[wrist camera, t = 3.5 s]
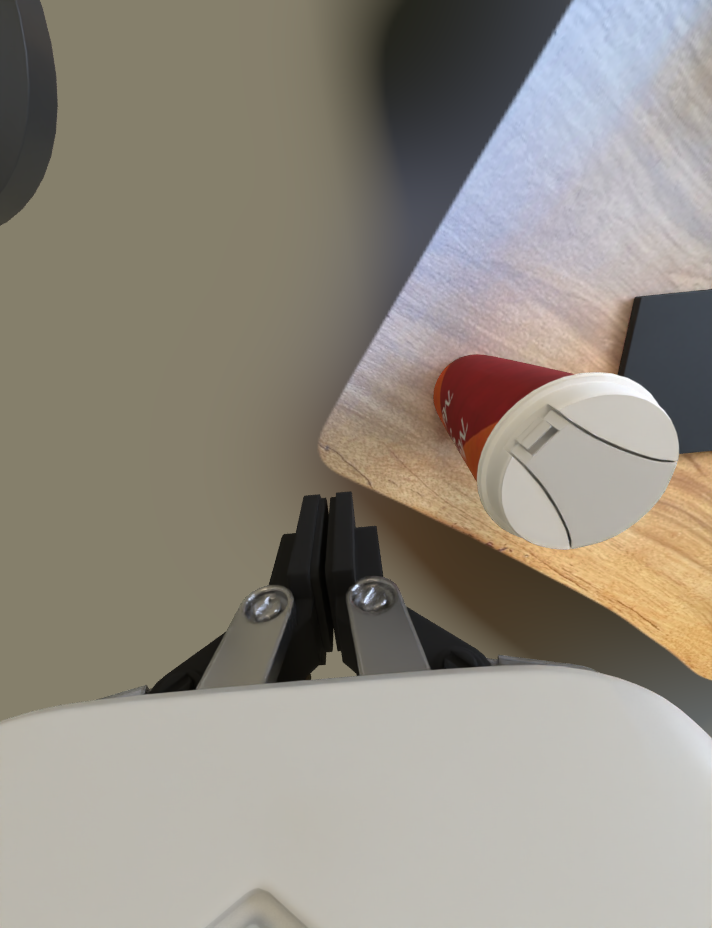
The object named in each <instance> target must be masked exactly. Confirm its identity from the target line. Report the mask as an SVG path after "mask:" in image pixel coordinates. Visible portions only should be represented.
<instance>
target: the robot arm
mask: <svg viewBox="0 0 712 928" xmlns="http://www.w3.org/2000/svg"><path fill="white" fill-rule="evenodd" d="M378 542H379V541H378V535H377V527H376V526H369V527H358V528H356V527H355V517H354V509H353V499H352V492H340V493H336V497H331V498H330V510H329V512H328V506H327V500H326V498H321V497H320V495H308V496H304V498H303V502H302V507H301V512H300V516H299V521H298V525H297V530H296V533H292V534H284V535H283V536H282V538H281V542H280V546H279V549H278V553H277V557H276V560H275V564H274V568H273V571H272V575H271V579H270V582H269V585H267V586H264V587H261V588H259V589H257V590H255V591H253V592H252V593H250V594H249V595H248V596H247V597H246V598H245V599H244V601H243V602H242V603H241V605H240V607H239V608H238V611H237V612H236V614H235V616H234V618H233V620H232V622H231V624H230V626H229V627H228V629H227V631H226V632H225V633H224V634H222V635H221V636H219V637H218V638H217V639H215V640H214V641H213V642H211V643H210V644H208V645H207V646H205V647H204V648H203V649H201V650H200V651H199V652H197V653H196V654H195V655H193V656H192V657H190V658H189V659H188V660H186V661H185V662H183V663H182V664H181V665H179V666H178V667H176V668H175V669H174V670H172V671H171V672H169V673H168V674H167V675H165V676H164V677H163V678H162V679H161V680H160V681H158V682H157V683H156V684H155V686H154V687H153V688H152V689H149V688H148V687H147V685H145V686H141V687H138V688H134V689H131V690H128V691H124V692H121V693H118V694H115V695H111V696H108V697H104V698H101V699H97V700H92V701H85V702H79V703H72V704H65V705H59V706H54V707H50V708H45V709H41V710H36V711H32V712H29V713H25V714H22V715H19V716H15V717H12V718H9V719H6V720H3V721H0V928H712V738H711V737H710V736H709V735H708V734H707V733H706V732H705V731H704V730H703V729H702V728H701V727H699V726H698V725H697V724H696V723H695V722H694V721H693V720H692V719H691V718H690V717H688V716H687V715H686V714H685V713H683V712H682V711H681V710H680V709H679V708H677V707H676V706H675V705H673V704H672V703H670V702H669V701H668V700H666V699H665V698H663V697H661V696H659V695H658V694H656V693H654V692H652V691H650V690H648V689H646V688H643V687H641V686H639V685H636V684H634V683H631V682H628V681H625V680H623V679H620V678H617V677H613V676H609V675H605V674H601V673H599V672H597V671H595V670H593V669H591V668H588V667H584V666H580V665H573V664H566V663H557V662H550V661H542V660H533V659H526V658H519V657H511V656H503V655H498V660H497V659H489V658H486V657H485V656H484V655H483V654H482V653H481V652H479V651H478V650H477V649H476V648H474V647H472V646H471V645H469V644H467V643H466V642H464V641H462V640H461V639H459V638H457V637H456V636H454V635H452V634H451V633H449V632H447V631H446V630H444V629H443V628H441V627H439V626H437V625H436V624H434V623H433V622H431V621H429V620H428V619H426V618H424V617H423V616H421V615H419V614H418V613H416V612H414V611H413V610H411V609H410V608H408V607H406V605H405V603H404V600H403V598H402V595H401V593H400V590H399V588H398V587H397V585H396V584H395V583H394V582H392V581H391V580H389V579H387V578H385V577H383V571H382V564H381V556H380V549H379V543H378ZM333 629H334V633H335V639H336V644H337V650H338V651H341V653H342V660H343V662H344V663H345V664H346V665H347V666H348V667H349V668H351V669H352V670H353V671H354V672H355V673H356V674H357V676H353V677H352V676H351V677H340V678H328V679H316V680H311V674H310V673H311V672H312V671H313V670H314V669H315V668H316V667H317V666H318V665H325V664H326V652H332V650H333Z"/></svg>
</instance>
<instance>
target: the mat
mask: <svg viewBox="0 0 712 928" xmlns="http://www.w3.org/2000/svg"><path fill="white" fill-rule="evenodd" d="M618 375H619V376H623V377H626V378H629V379H631V380H633V381H634V382H636V383H638V384H640V385H641V386H642V387H644V388H645V389H646V390H647V391H648V392H650V394H651V395H652V396H653V398H654V399H655V400H656V401H657V403H658V405H659V406H660V407H661V408H662V409H663V410H664V411H665V412H666V414H667V415H668V416H669V418H670V419H671V421H672V423H673V425H674V428H675V430H676V432H677V437H678V442H679V454H683V453H693V452H703V451H712V289H709V290H699V291H689V292H679V293H669V294H659V295H649V296H639V297H635V300H634V304H633V309H632V313H631V318H630V322H629V327H628V331H627V336H626V340H625V345H624V349H623V354H622V359H621V363H620V368H619V372H618Z"/></svg>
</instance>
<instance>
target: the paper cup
mask: <svg viewBox="0 0 712 928" xmlns="http://www.w3.org/2000/svg"><path fill="white" fill-rule="evenodd" d="M433 398H434V405H435V409H436V411H437V414H438V416H439V418H440V420H441V421H442V423H443V425H444V427H445V428H446V430H447V432H448V434H449V435H450V437H451V439H452V441H453V442H454V444H455V446H456V447H457V449H458V451H459V453H460V454H461V456H462V458H463V459H464V461H465V463H466V464H467V466H468V468H469V469H470V471H471V473H472V475H473V476H474V478H475V480H476V481H477V487H478V493H479V496H480V500H481V503H482V505H483V507H484V509H485V511H486V512H487V514H488V515H489V516H490V517H491V519H492V520H493V521H494V522H495V523H496V524H497V525H499V526H500V527H501V528H502V529H504V530H506V531H507V532H509V533H511V534H513V535H516V536H518V537H521V538H523V539H525V540H527V541H528V542H530V543H533V544H536V545H538V546H542V547H546V548H551V549H563V550H567V549H570V547H571V548H572V549H574V548H579V547H584V546H588V545H592V544H595V543H599V542H602V541H605V540H607V539H610V538H612V537H614V536H616V535H618V534H620V533H621V532H623V531H625V530H626V529H628V528H629V527H630V526H632V525H633V524H635V523H636V522H637V521H638V520H640V519H641V518H642V517H643V516H644V515H645V514H646V513H648V512H649V510H650V509H651V508H652V507H653V506H654V505H655V504H656V503H657V502H658V500H659V499H660V497H661V496H662V495H663V493H664V492H665V490H666V488H667V486H668V484H669V481H670V479H671V477H672V475H673V472H674V470H675V467H676V465H677V462H675V461H678V457H679V442H678V437H677V432H676V430H675V428H674V425H673V423H672V421H671V419H670V418H669V416H668V415H667V414H666V412H665V411H664V410H663V409H662V408H661V407H660V406H659V405H658V403H657V401H656V400H655V399H654V398H653V396H652V395H651V394H650V392H648V391H647V390H646V389H645V388H644V387H642V386H641V385H640V384H638V383H636V382H634V381H633V380H631V379H629V378H626V377H623V376H619V375H616V374H612V373H602V372H589V373H579V374H572V373H567V372H562V371H558V370H554V369H549V368H545V367H540V366H536V365H531V364H527V363H522V362H517V361H513V360H508V359H503V358H498V357H493V356H487V355H468V356H464V357H461V358H459V359H457V360H455V361H453V362H452V363H451V364H449V365H448V366H447V367H446V368H445V369H444V370H443V371H442V373H441V374H440V376H439V378H438V379H437V382H436V384H435V388H434V395H433Z"/></svg>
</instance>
